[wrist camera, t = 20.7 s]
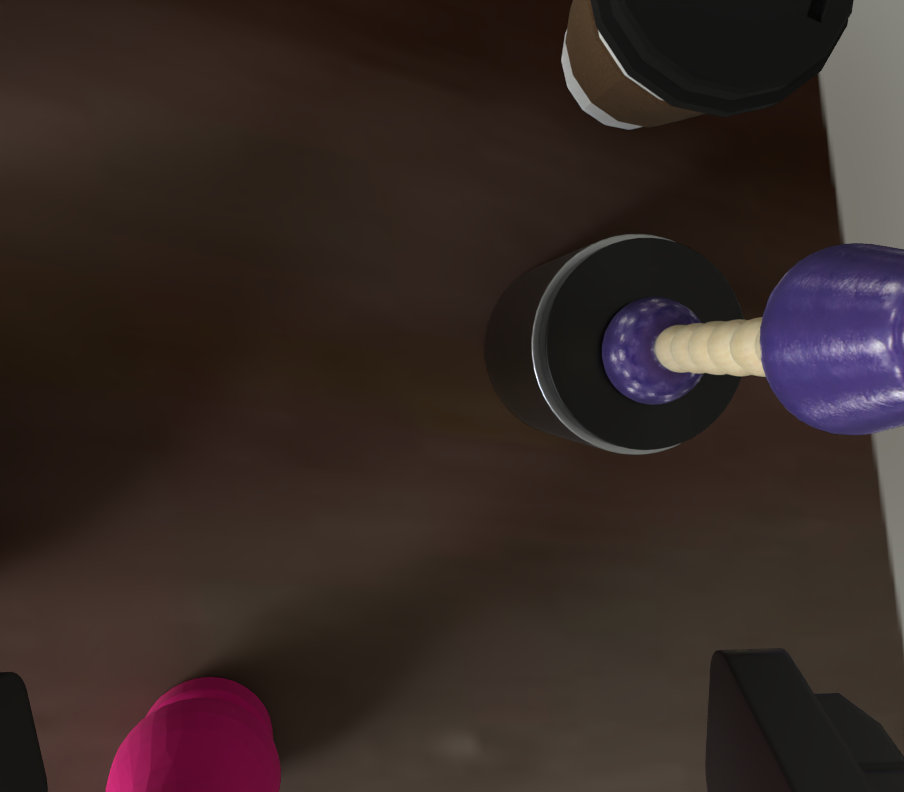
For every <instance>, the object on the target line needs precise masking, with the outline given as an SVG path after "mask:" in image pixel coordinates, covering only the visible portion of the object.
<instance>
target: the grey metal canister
mask: <svg viewBox="0 0 904 792" xmlns="http://www.w3.org/2000/svg"><path fill="white" fill-rule="evenodd" d="M648 297H663V298H668V299H671V300H674V301H676V302H679V303H680V304H682V305H684V306H686V307H687V308H688V309H690V310H691V311H692V312H693V313H694V314H695V315H696V316H697V317H698V318H699V320H700V321H701V323H703V324H705V323H707V322H711V321H725V322H727V321H731V320H738V319H742V320H744V318H743V314H742V311H741V307H740V305H739V302H738V300H737V297H736V295H735V293H734V291H733V290H732V288H731V286H730V284H729V283H728V281H727V280H726V279H725V277H724V276H723V275H722V273H721V272H720V271H719V270H718V269H717V268H716V267H715V266H714V265H713V264H712V263H711V262H710V261H709V260H707V259H706V258H705V257H704V256H702V255H701V254H699V253H698V252H696V251H694V250H693V249H691V248H689V247H687V246H684V245H682V244H680V243H677V242H675V241H672V240H670V239H667V238H663V237H659V236H655V235H648V234H625V235H618V236H613V237H610V238H606V239H603V240H600V241H598V242H595V243H593V244H590V245H588V246H586V247H583V248H581V249H578V250H576V251H573V252H571V253H569V254H566V255H564V256H561V257H559V258H557V259H554V260H552V261H549V262H547V263H544V264H542V265H540V266H538V267H535V268H533V269H531V270H529V271H528V272H526V273H525V274H523V275H521V276H520V277H519V278H518V279H517V280H515V281H514V282H513V283H512V284H511V285H510V286H509V287H508V288H507V289H506V291H505V292H504V293H503V295H502V296H501V297H500V299H499V300H498V302H497V304H496V306H495V308H494V310H493V312H492V314H491V317H490V320H489V323H488V327H487V331H486V339H485V359H486V365H487V370H488V373H489V377H490V380H491V382H492V384H493V387H494V389H495V391H496V393H497V394H498V396H499V397H500V399H501V401H502V402H503V403H504V404H505V406H506V407H507V408H508V409H509V410H510V411H511V412H512V413H513V414H514V415H515V416H516V417H517V418H519V419H520V420H521V421H523V422H524V423H526V424H527V425H529V426H531V427H533V428H535V429H537V430H540V431H543V432H545V433H548V434H552V435H555V436H559V437H562V438H565V439H569V440H572V441H575V442H579V443H582V444H586V445H589V446H592V447H596V448H599V449H602V450H606V451H610V452H614V453H619V454H629V455H642V454H651V453H656V452H661V451H664V450H667V449H670V448H673V447H675V446H677V445H679V444H681V443H683V442H685V441H687V440H689V439H691V438H693V437H695V436H696V435H698V434H699V433H700V432H702V431H703V430H705V429H706V428H707V427H708V426H709V425H711V424H712V423H713V422H714V421H715V420H716V419H717V418H718V417H719V415H720V414H721V413H722V412H723V411H724V410H725V408H726V407H727V405H728V404H729V402H730V401H731V399H732V397H733V395H734V393H735V391H736V389H737V387H738V384H739V382H740V379H741V376H733V375H729V374H724V375H714V374H709V373H704V374H703V376H702V377H701V379H700V381H699V382H698V383H697V385H696V386H695V387H694V388H693V389H692V390H691V391H689V392H688V393H687V394H686V395H684V396H682V397H680V398H679V399H676V400H674V401H672V402H668V403H664V404H654V405H651V404H643V403H638V402H636V401H634V400H632V399H630V398H628V397H626V396H625V395H623V394H622V393H621V392H620V391H619V390H618V389H616V388H615V386H614V385H613V384H612V383H611V381H610V379H609V377H608V376H607V374H606V371H605V368H604V363H603V359H602V343H603V339H604V334H605V331H606V330H607V328H608V326H609V324H610V322H611V320H612V319H613V318H614V316H615V315H616V314H617V313H618V312H619V311H620V310H621V309H622V308H623V307H625V306H626V305H628V304H629V303H631V302H633V301H636V300H639V299H642V298H648Z"/></svg>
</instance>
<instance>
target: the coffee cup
mask: <svg viewBox="0 0 904 792" xmlns="http://www.w3.org/2000/svg"><path fill="white" fill-rule="evenodd" d="M852 6H853V0H573V3H572V5H571V8H570V13H569V20H568V27H567V30H566V33H565V39H564V45H563V52H562V59H561V62H562V66H563V70H564V75H565V79H566V83H567V87H568V89H569V90H570V92H571V93H572V95H573V96H574V98H575V99H576V101H577V102H578V104H579V105H580V107H581V108H582V110H584V111H585V112H586V113H588V114H589V115H591V116H592V117H594V118H595V119H597V120H598V121H600V122H601V123H602V124H604V125H608V126H613V127H618V128H623V129H627V130H631V129H635V128H640V127H647V128H650V127H654V126H659V125H664V124H668V123H673V122H677V121H681V120H685V119H688V118H692V117H695V116H699V115H702V114H711V115H715V116H720V117H726V116H731V115H735V114H740V113H744V112H749V111H753V110H758V109H763V108H767V107H772V106H774V105H775V104H777V103H779V102H780V101H782V100H783V99H784V98H786V97H787V96H788V95H790V94H791V93H792V92H794V91H795V90H796V89H798V88H799V87H800V86H802V85H803V84H804V83H806V82H807V81H808V80H810V79H811V78H812V77H814V76H815V75H816V74H818V73H819V72H820V71H821V70H822V68H823V66H824V65H825V63H826V61H827V59H828V58H829V56H830V54H831V53H832V51H833V49H834V47H835V46H836V44H837V42H838V40H839V39H840V37H841V35H842V33H843V31H844V30H845V28H846V26H847V23H848V18H849V16H850V14H851V13H852Z"/></svg>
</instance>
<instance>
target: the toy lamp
mask: <svg viewBox="0 0 904 792" xmlns="http://www.w3.org/2000/svg"><path fill="white" fill-rule="evenodd" d="M602 359H603V363H604V368H605V371H606V374H607V376H608V377H609V379H610V381H611V383H612V384H613V385H614V386H615V388H616V389H618V390H619V391H620V392H621V393H622V394H623V395H625V396H626V397H628V398H630V399H632V400H634V401H636V402H638V403H643V404H651V405H654V404H664V403H668V402H672V401H674V400H676V399H679V398H680V397H682V396H684V395H686V394H687V393H688V392H689V391H691V390H692V389H693V388H694V387H695V386H696V385H697V383H698V382H699V381H700V379H701V377H702V376H703V374H704V373H709V374H714V375H724V374H729V375H733V376H748V375H756V376H761V377H766V378H767V380H768V382H769V384H770V386H771V389H772V390H773V392H774V393H775V395H776V396H777V398H778V399H779V401H780V402H781V403H782V404H783V405H784V407H785V408H786V409H787V410H788V411H789V412H791V413H792V414H793V415H794V416H796V417H797V418H798V420H800V421H803V422H804V423H806V424H808V425H810V426H812V427H814V428H817V429H819V430H823V431H826V432H829V433H833V434H843V435H865V434H871V433H876V432H880V431H884V430H888V429H892V428H895V427H899V426H903V425H904V250H903V249H897V248H892V247H886V246H879V245H873V244H858V243H855V244H854V243H853V244H842V245H837V246H832V247H827V248H825V249H822V250H820V251H817V252H815V253H812V254H811V255H809V256H807V257H805V258H803V259H802V260H800V261H799V262H798V263H797V264H796V265H795V266H794V267H792V268H791V269H790V270H789V271H788V272H787V273H786V274H785V275H784V277H783V278H782V279H781V280H780V282H779V283H778V285H777V286H776V287H775V288H774V290H773V291H772V293H771V295H770V297H769V299H768V302H767V305H766V308H765V311H764V313H763V317H759V318H754V319H751V320H742V319H738V320H731V321H727V322H725V321H711V322H707V323H705V324H703V323H701V321H700V320H699V318H698V317H697V316H696V315H695V314H694V313H693V312H692V311H691V310H690V309H688V308H687V307H686V306H684V305H682V304H680V303H679V302H676V301H674V300H671V299H668V298H663V297H648V298H642V299H639V300H636V301H633V302H631V303H629V304H628V305H626V306H625V307H623V308H622V309H621V310H620V311H619V312H618V313H617V314H616V315H615V316H614V318H613V319H612V320H611V322H610V324H609V326H608V328H607V330H606V331H605V334H604V339H603V343H602Z"/></svg>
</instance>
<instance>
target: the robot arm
mask: <svg viewBox="0 0 904 792" xmlns="http://www.w3.org/2000/svg"><path fill="white" fill-rule="evenodd" d="M705 766H706V782H707V790H708V792H904V756H903V755H902V753H901V752H900V751H899V749H898V748H897V746H896V745H895V744H894V742H893V741H892V739H891V738H890V737H889V735H888V734H887V732H886V731H885V730H884V728H883V727H882V726H881V724H880V723H878V722H877V721H876V720H874V719H873V718H872V717H870V716H869V715H868V714H866V713H865V712H863V711H862V710H861V709H859V708H858V707H857V706H855V705H854V704H853V703H851V702H850V701H849V700H847V699H846V698H845V697H843V696H842V695H841V694H839V693H832V694H814V693H813V691H812V690H811V688H810V687H809V685H808V683H807V682H806V680H805V679H804V677H803V676H802V674H801V672H800V671H799V669H798V668H797V666H796V665H795V663H794V661H793V660H792V658H791V657H790V655H789V654H788V653H787V652H786V651H785V650H784V649H782V648H777V649H747V650H718V651H715V652H714V654H713V656H712V660H711V667H710V684H709V703H708V722H707V742H706V765H705ZM0 792H48V787H47V778H46V773H45V769H44V765H43V760H42V756H41V751H40V747H39V742H38V738H37V734H36V729H35V725H34V720H33V716H32V711H31V707H30V703H29V698H28V694H27V690H26V686H25V684H24V682H23V680H22V679H21V677H20V676H19V675H18V674H16V673H13V672H0Z"/></svg>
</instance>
